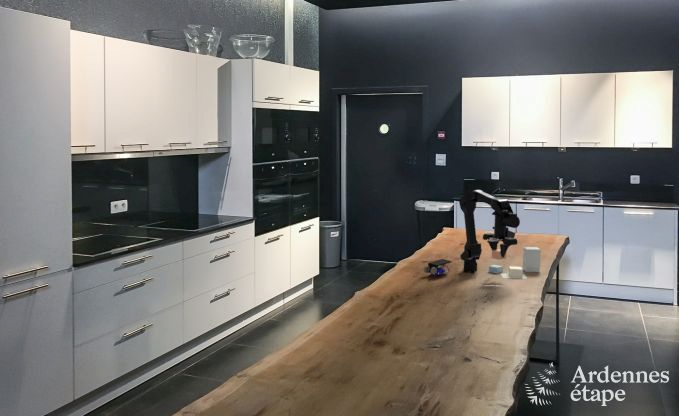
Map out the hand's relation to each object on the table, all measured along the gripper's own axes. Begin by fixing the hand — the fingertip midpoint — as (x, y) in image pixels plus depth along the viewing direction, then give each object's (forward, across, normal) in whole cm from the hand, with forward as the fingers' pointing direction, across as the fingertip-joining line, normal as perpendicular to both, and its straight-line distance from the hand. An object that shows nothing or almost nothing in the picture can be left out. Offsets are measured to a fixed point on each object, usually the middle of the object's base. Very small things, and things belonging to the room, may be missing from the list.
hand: (499, 256), depth 329 cm
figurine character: (+12, +22, +20) cm, 32 cm away
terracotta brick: (+1, 0, 0) cm, 1 cm away
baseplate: (+12, 0, -11) cm, 16 cm away
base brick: (+11, 0, -12) cm, 17 cm away
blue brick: (+12, +12, -9) cm, 19 cm away
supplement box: (+12, +6, -29) cm, 32 cm away
